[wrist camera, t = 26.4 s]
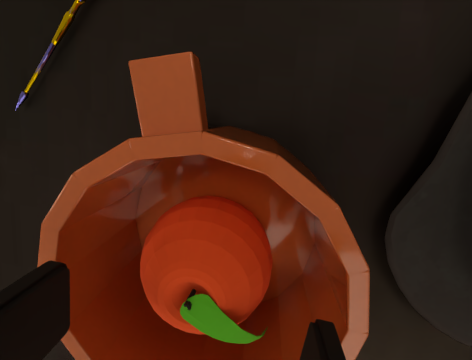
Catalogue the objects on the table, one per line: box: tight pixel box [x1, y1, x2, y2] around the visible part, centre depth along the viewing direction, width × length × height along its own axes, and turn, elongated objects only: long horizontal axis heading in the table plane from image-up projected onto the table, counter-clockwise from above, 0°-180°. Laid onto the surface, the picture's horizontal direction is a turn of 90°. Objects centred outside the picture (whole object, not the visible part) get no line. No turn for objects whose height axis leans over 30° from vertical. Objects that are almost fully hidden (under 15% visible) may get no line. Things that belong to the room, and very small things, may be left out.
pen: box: [15, 0, 86, 110], centre depth 15 cm, size 14×1×1 cm, turn 138°
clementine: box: [140, 196, 273, 344], centre depth 14 cm, size 8×7×7 cm
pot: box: [37, 51, 370, 360], centre depth 14 cm, size 14×19×8 cm
